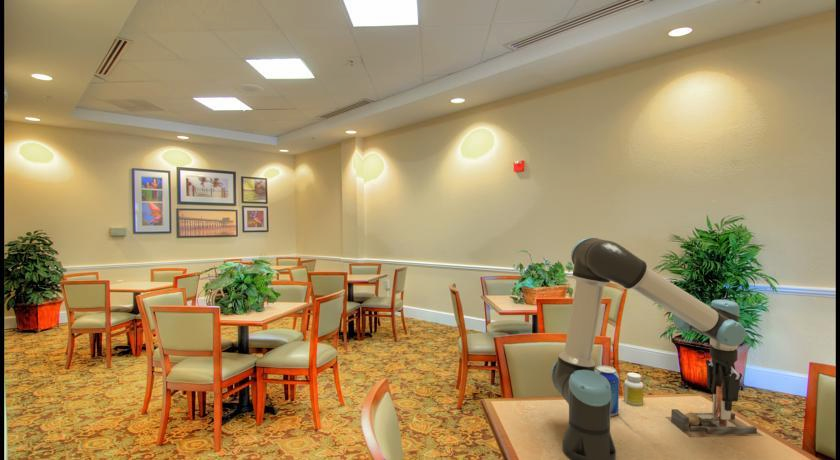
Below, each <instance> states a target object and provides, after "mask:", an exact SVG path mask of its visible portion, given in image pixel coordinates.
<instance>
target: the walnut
mask: <svg viewBox="0 0 840 460" xmlns="http://www.w3.org/2000/svg"><path fill="white" fill-rule="evenodd" d="M694 413H695V412H687V413H685V414H684V415H686V416H687V417H688V418H689V426H698V425H699V422H700V421H699V418H698V416H697V415H696V414H694Z"/></svg>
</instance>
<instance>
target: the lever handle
mask: <svg viewBox="0 0 840 460" xmlns="http://www.w3.org/2000/svg"><path fill="white" fill-rule="evenodd" d="M721 399H724V398H723V386H722V385H716V410H715V415H697V416H698V418H699V421H700V423H701V424H711V425H712V426H713V427H736V426H735V425H734V424H732V423H731V422H729V421H728V420H722V419H721Z"/></svg>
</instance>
